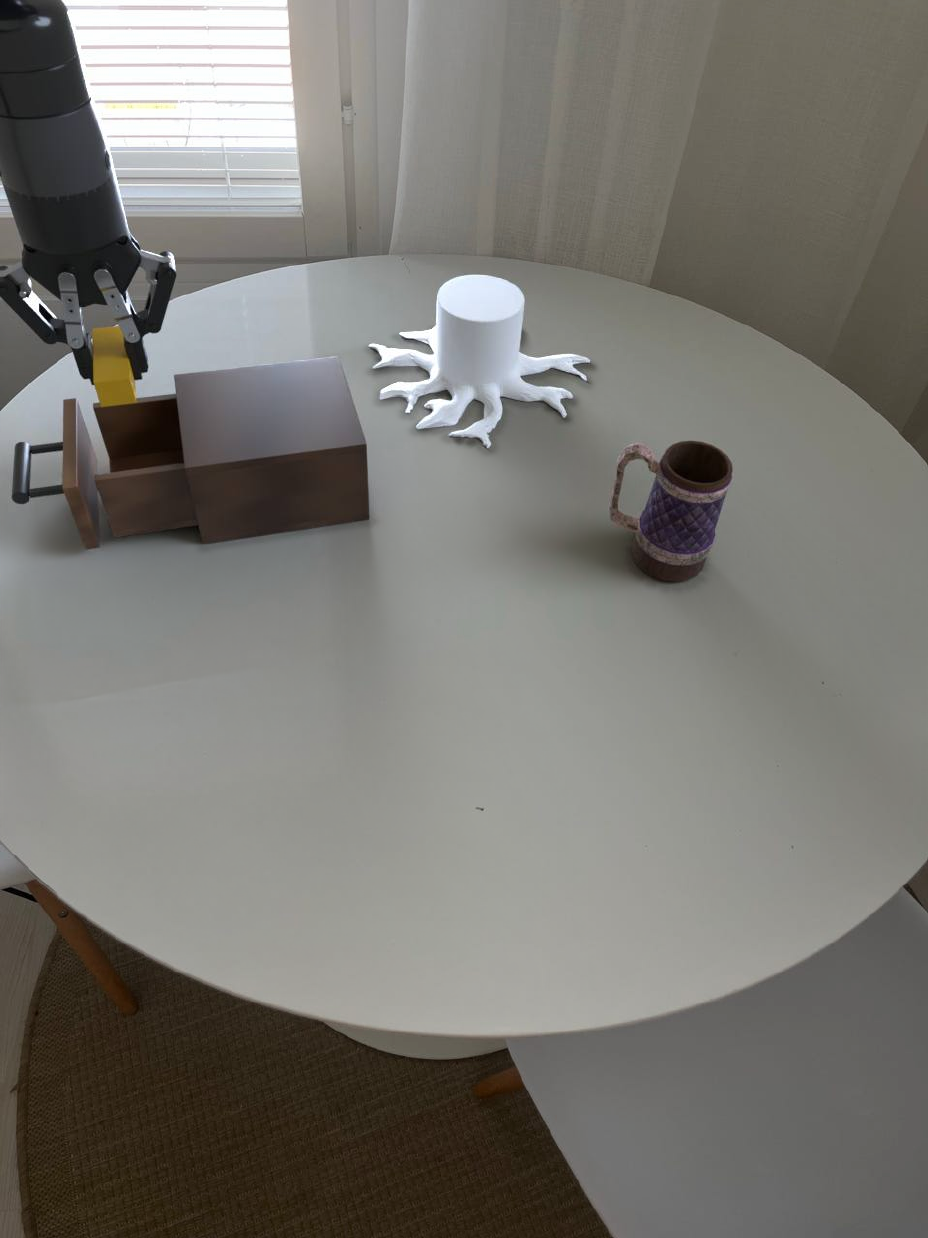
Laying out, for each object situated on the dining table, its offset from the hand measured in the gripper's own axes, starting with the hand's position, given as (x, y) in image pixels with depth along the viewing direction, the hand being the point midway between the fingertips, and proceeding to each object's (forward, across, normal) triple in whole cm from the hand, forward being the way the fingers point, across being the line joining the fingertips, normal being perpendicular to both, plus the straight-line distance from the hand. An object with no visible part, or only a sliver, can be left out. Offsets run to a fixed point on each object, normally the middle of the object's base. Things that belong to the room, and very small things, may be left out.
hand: (116, 376), depth 76 cm
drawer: (+13, +1, 0) cm, 13 cm away
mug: (+15, -45, +17) cm, 50 cm away
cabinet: (+14, -12, 0) cm, 19 cm away
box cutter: (0, 0, 0) cm, 0 cm away
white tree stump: (+15, -37, -14) cm, 42 cm away
